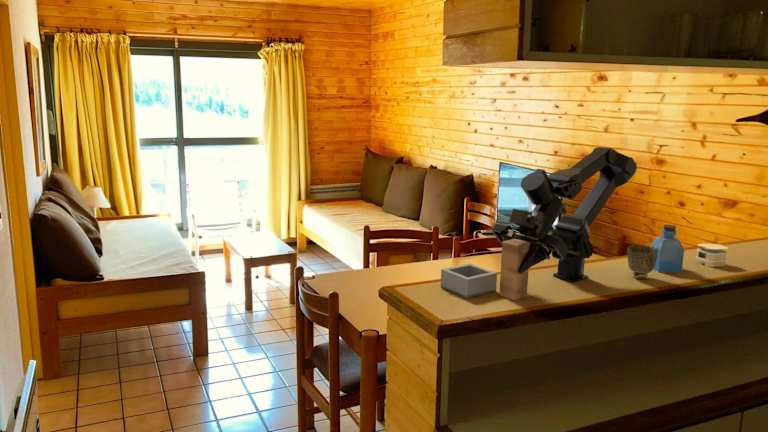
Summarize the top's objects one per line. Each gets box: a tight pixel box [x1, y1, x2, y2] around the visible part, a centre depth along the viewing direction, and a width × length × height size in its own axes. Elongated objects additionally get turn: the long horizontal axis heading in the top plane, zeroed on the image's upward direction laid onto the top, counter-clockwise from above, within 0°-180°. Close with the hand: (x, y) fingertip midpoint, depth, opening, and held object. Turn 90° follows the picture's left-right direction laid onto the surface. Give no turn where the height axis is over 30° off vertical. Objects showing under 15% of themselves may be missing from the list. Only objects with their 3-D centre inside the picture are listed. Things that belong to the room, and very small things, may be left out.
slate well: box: [440, 262, 498, 300], centre depth 151 cm, size 9×9×5 cm
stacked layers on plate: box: [695, 243, 729, 268], centre depth 175 cm, size 10×9×6 cm
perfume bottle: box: [650, 224, 685, 274], centre depth 169 cm, size 6×6×12 cm
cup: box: [627, 244, 659, 280], centre depth 161 cm, size 8×7×8 cm
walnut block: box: [498, 239, 530, 301], centre depth 146 cm, size 4×4×13 cm
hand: (510, 269), depth 145 cm, fingers closed on walnut block, 4 cm apart
